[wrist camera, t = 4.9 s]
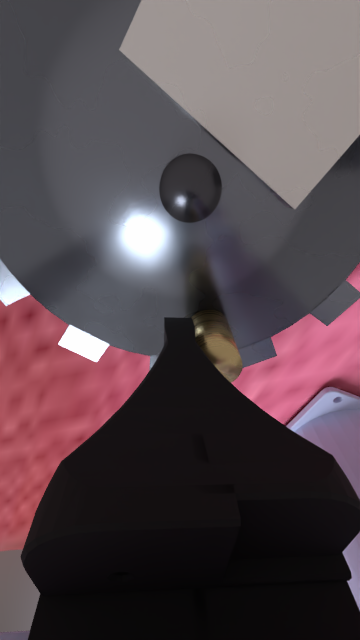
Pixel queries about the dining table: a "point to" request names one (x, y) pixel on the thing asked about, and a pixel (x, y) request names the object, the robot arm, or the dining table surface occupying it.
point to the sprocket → (180, 168)
